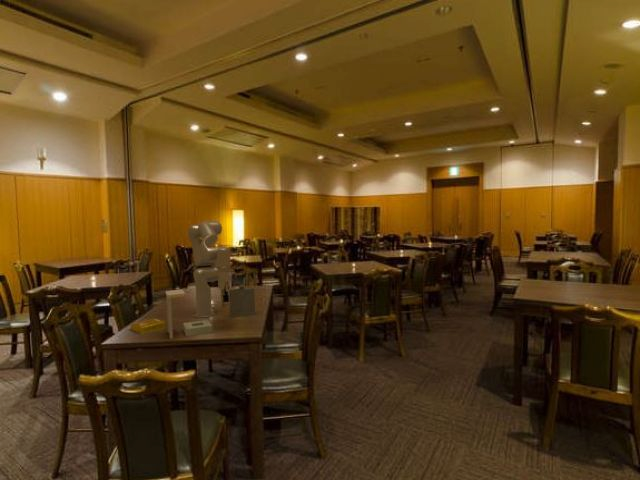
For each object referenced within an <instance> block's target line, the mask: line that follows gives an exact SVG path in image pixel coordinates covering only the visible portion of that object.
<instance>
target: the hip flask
mask: <svg viewBox="0 0 640 480" xmlns="http://www.w3.org/2000/svg"><path fill="white" fill-rule="evenodd" d="M228 290H229V291H228V292H229V317H230V318H241V317H240V316H243V317H250V316H251V315H252V316H256V305H255V304H256V302H255V288H254V287H250V288H245V285H244V284H241V285H238V287H237V288H233V289H231V288H230V289H228ZM252 316H251V317H252Z"/></svg>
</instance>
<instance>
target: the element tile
mask: <svg viewBox="0 0 640 480" xmlns="http://www.w3.org/2000/svg"><path fill="white" fill-rule="evenodd" d="M164 329H166V321H163V320H162V319H159V318H155V317H153V318H149V319H148V318H147V319H143V320H139V321H135V322H131V323H130V331H131V332H133V331H134V332H133V333H136V334H138V333H139V334H138V335H145V334H149V333H153V332H157V331H161V330H164ZM144 333H145V334H144Z"/></svg>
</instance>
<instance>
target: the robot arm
mask: <svg viewBox="0 0 640 480" xmlns="http://www.w3.org/2000/svg"><path fill="white" fill-rule="evenodd" d="M222 232H223V227H222V224H221V223H220V221H217V220H215V221H212V220H211V221H209V220H208V221H201V222H200V223H198V224H192V225H190V226H189V227H188V228H187V237H188V239H189V242H190V244H191V247H192V254H193V262H194V265H195V266H198V268H195V270H194V271H193V273H192V274H193V279H194V285H195V301H196V302H195V303H196V312H195V314H194V316H193V317H195V318H196V319H203V318H210V317H214V316H215V312H214V311H213V310H212V309H213V308H212V307H213V306H212V289H211V286H210V285H209V284H208V283H209V282H210V283H211V282H217V281H218V282H217V286H218V287H217V288H218V289H219V290H220V291H221V290H223V302H229V303H230V299H229V290H230V289H231V283H230V282H231V279H230V278H231V277H230V273H231V272H232V271H231V249H230V247H229V248H228V247H225V246H214V247H212V245H215V244H216V242H217V241H218V239H219V238H218V236H220V234H222ZM210 246H211V247H210ZM204 266H205V267H204ZM206 266H207V267H206ZM225 288H226V290H224V289H225ZM220 300H221V301H222V298H220Z"/></svg>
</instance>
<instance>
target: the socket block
mask: <svg viewBox="0 0 640 480" xmlns="http://www.w3.org/2000/svg"><path fill="white" fill-rule="evenodd" d="M165 295H166V296H165V297H166V299H165V300H166V315H167V316H166V318H167V333H168V334H169V339H170V340H172V339H174V333H173V332H174V331H173V315H172V314H173V311H172V299H173V298H181V297H186V292H185V291H184V289H173V290H165ZM182 326H183V327H182V328H183V333H184V334H185V337H193V336H199V335H207V334H212V333H213V324H212V323H211V322H210V320H209V319H204V320H198V321H197V320H196V321H188V322H183V323H182Z"/></svg>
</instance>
